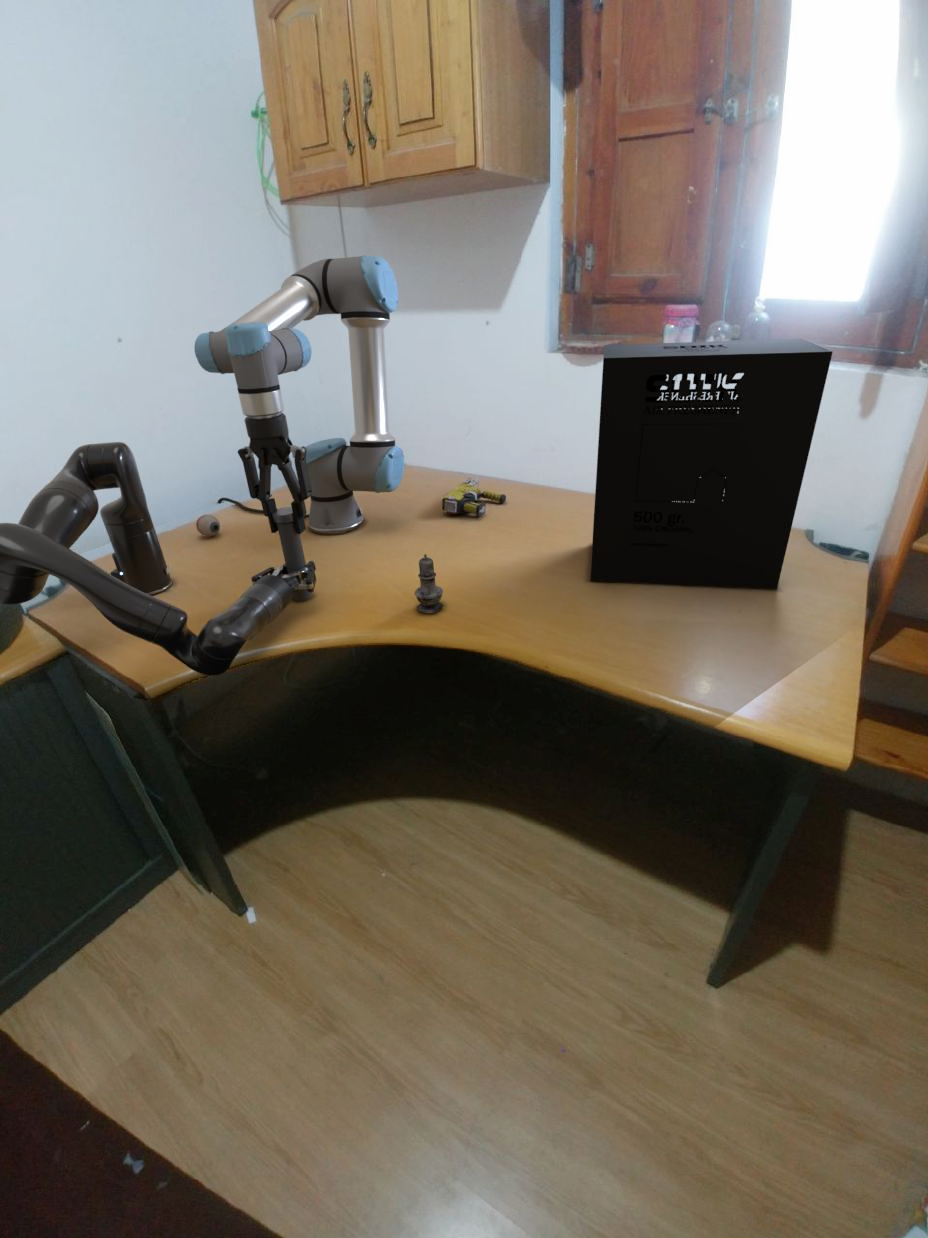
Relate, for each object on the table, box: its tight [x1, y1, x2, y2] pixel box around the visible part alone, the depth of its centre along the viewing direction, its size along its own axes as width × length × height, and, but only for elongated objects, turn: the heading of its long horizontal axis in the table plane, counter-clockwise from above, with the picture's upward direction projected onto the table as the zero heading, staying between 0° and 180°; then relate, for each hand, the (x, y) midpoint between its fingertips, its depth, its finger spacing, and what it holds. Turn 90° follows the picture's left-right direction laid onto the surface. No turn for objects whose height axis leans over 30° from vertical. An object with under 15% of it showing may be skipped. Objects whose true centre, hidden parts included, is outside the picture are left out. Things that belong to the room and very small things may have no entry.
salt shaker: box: [413, 553, 444, 614], centre depth 122 cm, size 6×6×12 cm
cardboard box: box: [589, 338, 834, 590], centre depth 125 cm, size 38×20×45 cm, turn 78°
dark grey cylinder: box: [277, 521, 313, 603], centre depth 127 cm, size 4×4×19 cm
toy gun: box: [441, 477, 507, 518], centre depth 177 cm, size 5×24×15 cm
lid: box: [272, 506, 294, 523], centre depth 123 cm, size 5×5×2 cm
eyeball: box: [196, 514, 221, 538], centre depth 165 cm, size 6×6×6 cm
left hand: (302, 564), depth 131 cm, fingers closed on dark grey cylinder, 4 cm apart
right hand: (288, 530), depth 124 cm, fingers closed on lid, 5 cm apart
